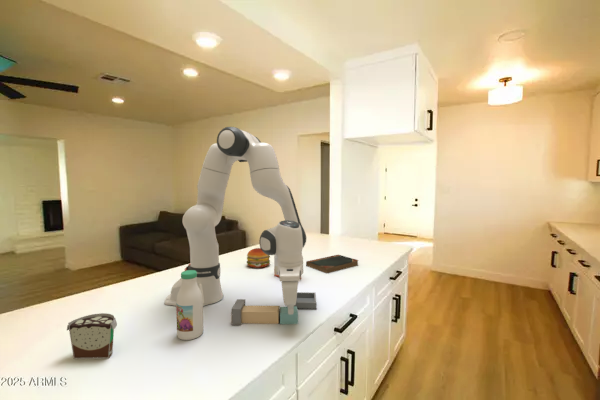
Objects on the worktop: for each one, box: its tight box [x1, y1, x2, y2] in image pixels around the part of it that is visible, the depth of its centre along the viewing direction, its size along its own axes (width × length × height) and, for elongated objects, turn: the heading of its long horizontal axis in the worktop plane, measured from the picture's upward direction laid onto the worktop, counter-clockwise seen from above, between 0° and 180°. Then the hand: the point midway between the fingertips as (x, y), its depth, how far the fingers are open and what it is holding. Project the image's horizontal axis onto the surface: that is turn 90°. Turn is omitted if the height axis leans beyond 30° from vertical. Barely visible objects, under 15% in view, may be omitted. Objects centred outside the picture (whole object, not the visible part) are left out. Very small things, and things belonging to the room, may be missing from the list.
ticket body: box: [230, 298, 281, 326], centre depth 101 cm, size 16×8×6 cm, turn 89°
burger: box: [246, 247, 271, 269], centre depth 166 cm, size 13×14×10 cm
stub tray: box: [294, 291, 317, 310], centre depth 115 cm, size 10×10×2 cm
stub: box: [279, 306, 299, 325], centre depth 101 cm, size 6×5×4 cm
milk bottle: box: [175, 270, 204, 341], centre depth 91 cm, size 8×8×20 cm
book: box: [305, 254, 359, 274], centre depth 166 cm, size 17×4×25 cm
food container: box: [66, 312, 118, 360], centre depth 82 cm, size 12×6×10 cm, turn 92°
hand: (291, 307), depth 101 cm, fingers open, 8 cm apart
